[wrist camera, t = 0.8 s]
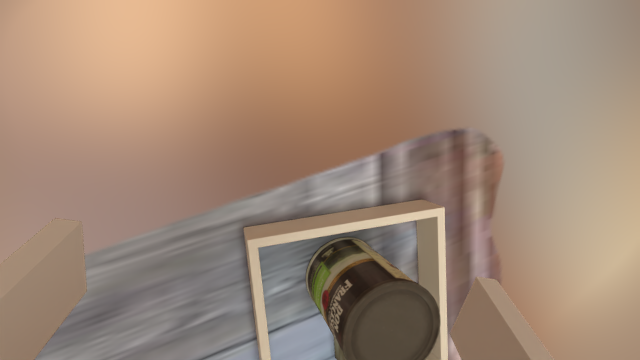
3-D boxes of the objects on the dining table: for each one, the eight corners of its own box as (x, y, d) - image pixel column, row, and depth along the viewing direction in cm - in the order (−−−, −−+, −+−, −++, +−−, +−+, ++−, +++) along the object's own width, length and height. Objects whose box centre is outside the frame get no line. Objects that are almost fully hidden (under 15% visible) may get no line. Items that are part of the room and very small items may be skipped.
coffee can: (298, 310, 47) (333, 384, 34) (313, 232, 46) (355, 277, 33) (370, 313, 50) (428, 382, 37) (386, 240, 49) (451, 284, 36)
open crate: (427, 345, 54) (447, 367, 49) (263, 391, 47) (269, 420, 43) (422, 199, 50) (444, 207, 45) (243, 227, 43) (247, 240, 39)
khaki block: (362, 349, 51) (378, 373, 46) (335, 357, 50) (348, 381, 45) (360, 323, 50) (376, 344, 45) (333, 330, 49) (346, 352, 44)
